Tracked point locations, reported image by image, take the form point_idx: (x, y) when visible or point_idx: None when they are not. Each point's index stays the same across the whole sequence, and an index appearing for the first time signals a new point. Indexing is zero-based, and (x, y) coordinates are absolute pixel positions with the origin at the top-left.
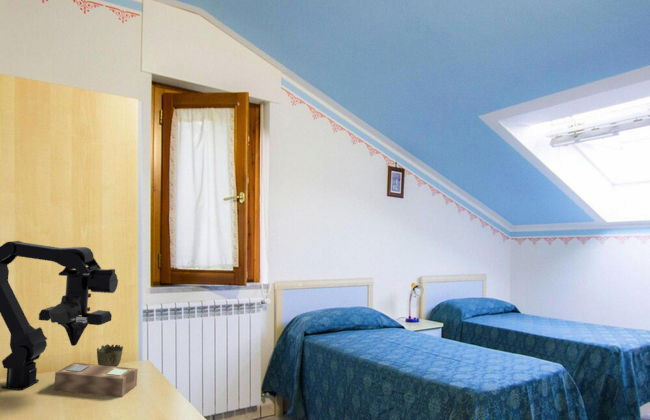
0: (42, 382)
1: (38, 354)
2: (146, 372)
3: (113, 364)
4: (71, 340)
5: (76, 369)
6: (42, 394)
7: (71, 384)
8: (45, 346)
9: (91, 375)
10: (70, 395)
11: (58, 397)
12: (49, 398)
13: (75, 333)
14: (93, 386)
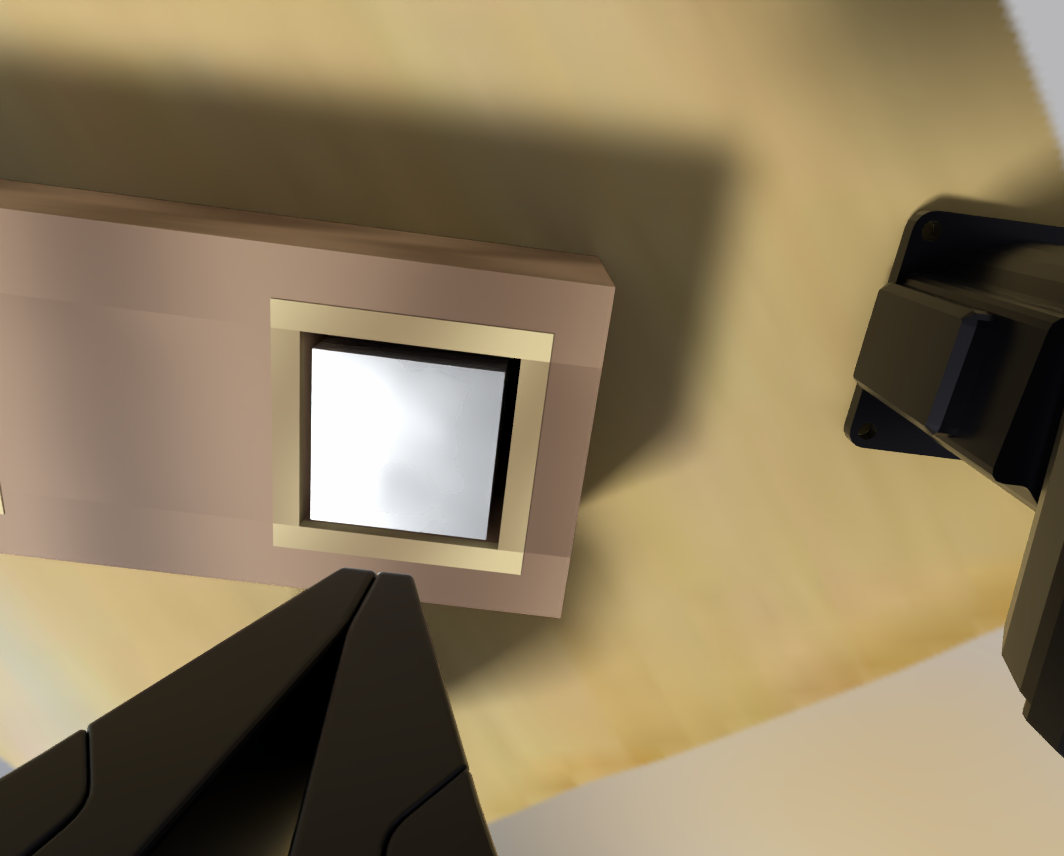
0: (800, 424)
1: (1037, 507)
2: (22, 711)
3: None
4: (372, 635)
5: (392, 401)
6: (658, 134)
7: (394, 239)
8: (1033, 686)
9: (82, 232)
10: (364, 140)
11: (455, 73)
12: (533, 35)
13: (68, 793)
14: (119, 206)
